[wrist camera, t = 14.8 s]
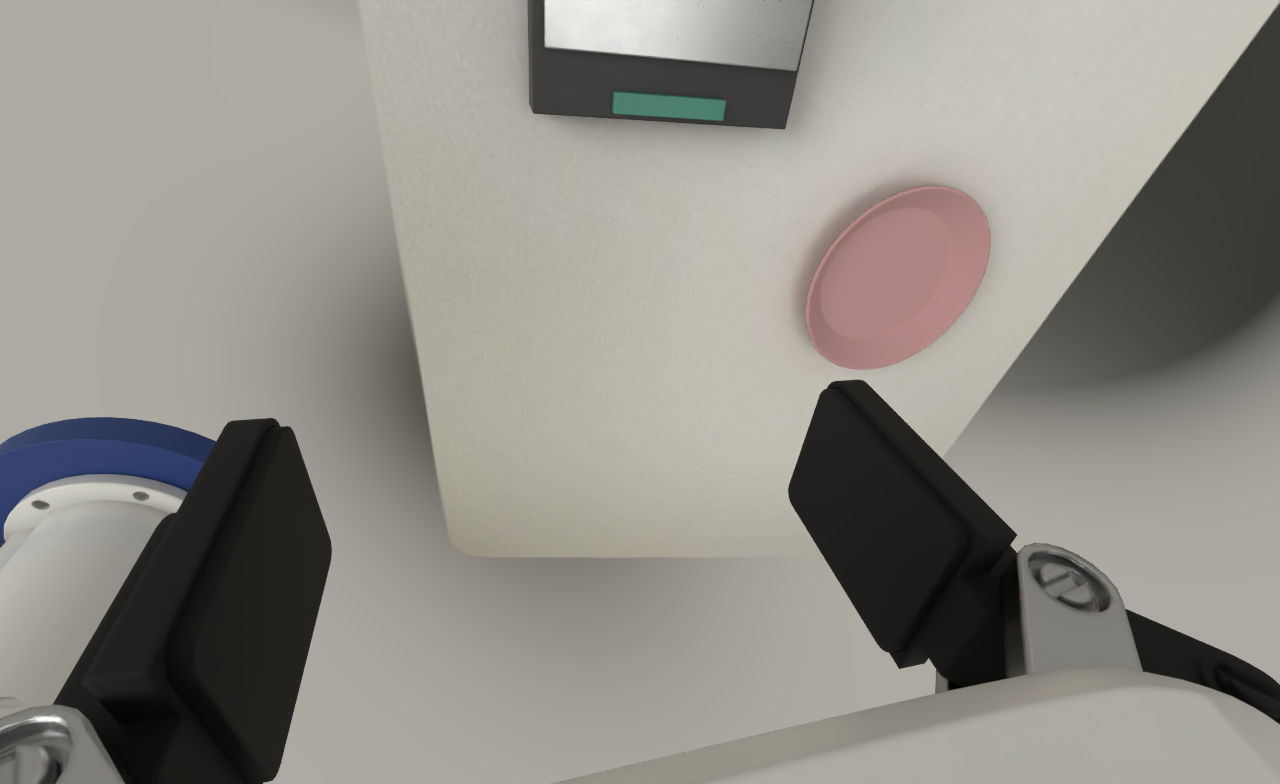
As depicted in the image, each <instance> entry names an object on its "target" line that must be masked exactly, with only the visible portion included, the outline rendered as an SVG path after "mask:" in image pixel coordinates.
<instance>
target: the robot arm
mask: <svg viewBox="0 0 1280 784" xmlns="http://www.w3.org/2000/svg"><path fill="white" fill-rule="evenodd" d="M788 494H789V499H790V502H791V504H792V506H793V508H794V509H795V511H796V512H797V514H798V516H799V517H800V519H801V521H802V522H803V524H804V525H805V527H806V529H807V530H808V532H809V534H810V535H811V537H812V538H813V540H814V542H815V543H816V545H817V547H818V548H819V550H820V552H821V553H822V555H823V556H824V558H825V560H826V561H827V563H828V564H829V566H830V568H831V569H832V571H833V573H834V574H835V576H836V578H837V579H838V581H839V582H840V584H841V586H842V587H843V589H844V591H845V592H846V594H847V595H848V597H849V599H850V600H851V602H852V604H853V605H854V607H855V608H856V610H857V612H858V613H859V615H860V617H861V618H862V620H863V621H864V623H865V625H866V626H867V628H868V629H869V631H870V633H871V634H872V636H873V638H874V639H875V641H876V643H877V644H878V645H879V646H880V648H881V649H882V650H884V651H886V652H889V653H890V655H891V656H892V658H893V659H894V661H895V663H896V664H897V666H898V668H899V669H901V668H905V667H910V666H915V665H919V664H924V663H925V662H926V661H927V660H928V658H929V659H930V660H931V662H932V663H933V665H934V666H935V668H936V688H935V694H933V695H928V696H924V697H920V698H915V699H911V700H907V701H903V702H898V703H893V704H889V705H885V706H881V707H876V708H872V709H868V710H863V711H859V712H854V713H850V714H845V715H841V716H837V717H832V718H828V719H824V720H819V721H815V722H811V723H807V724H802V725H798V726H793V727H789V728H785V729H781V730H776V731H772V732H768V733H764V734H759V735H755V736H751V737H747V738H742V739H738V740H734V741H729V742H725V743H721V744H717V745H713V746H709V747H704V748H700V749H696V750H692V751H687V752H683V753H679V754H674V755H670V756H666V757H662V758H657V759H653V760H650V761H645V762H641V763H636V764H632V765H628V766H623V767H619V768H615V769H611V770H606V771H602V772H599V773H594V774H590V775H586V776H581V777H577V778H573V779H570V780H565V781H561V782H557V783H552V784H1280V685H1279V684H1278V683H1277V682H1276V681H1275V680H1274V679H1273V678H1271V677H1270V676H1269V675H1267V674H1266V673H1264V672H1263V671H1261V670H1259V669H1258V668H1256V667H1254V666H1252V665H1251V664H1249V663H1247V662H1245V661H1243V660H1241V659H1239V658H1237V657H1235V656H1233V655H1231V654H1229V653H1227V652H1224V651H1222V650H1220V649H1217V648H1215V647H1213V646H1210V645H1208V644H1206V643H1203V642H1201V641H1199V640H1196V639H1194V638H1192V637H1190V636H1187V635H1185V634H1183V633H1180V632H1178V631H1176V630H1173V629H1171V628H1169V627H1166V626H1164V625H1162V624H1159V623H1157V622H1155V621H1152V620H1150V619H1148V618H1145V617H1143V616H1141V615H1139V614H1136V613H1134V612H1132V611H1129V610H1127V609H1125V607H1124V604H1123V600H1122V598H1121V596H1120V594H1119V592H1118V590H1117V588H1116V587H1115V586H1114V584H1113V583H1112V582H1111V581H1110V580H1109V578H1108V577H1107V576H1106V575H1105V574H1104V573H1102V572H1101V571H1100V570H1099V569H1098V568H1097V567H1095V566H1094V565H1093V564H1092V563H1090V562H1088V561H1087V560H1085V559H1084V558H1082V557H1080V556H1079V555H1077V554H1075V553H1073V552H1070V551H1068V550H1066V549H1064V548H1061V547H1057V546H1053V545H1050V544H1043V543H1033V544H1029V545H1025V546H1024V547H1023V548H1022V549H1021V550H1020V551H1019V552H1018V553H1016V551H1015V550H1014V549H1013V548H1012V547H1011V546H1010V544H1011V543H1012V541H1013V540H1014V539H1015V537H1016V536H1017V534H1016V533H1015V532H1014V531H1013V530H1012V529H1011V528H1010V527H1009V526H1008V525H1007V524H1006V523H1005V522H1004V521H1003V520H1002V519H1001V518H1000V517H999V516H998V515H997V514H996V513H995V512H994V511H993V510H992V509H991V508H990V507H989V506H988V505H987V504H986V503H985V502H984V501H983V500H982V499H981V498H980V497H979V496H978V495H977V494H976V493H975V492H974V491H973V490H972V489H971V488H970V487H969V486H968V485H967V484H966V483H965V482H964V481H963V480H962V479H961V478H960V477H959V476H958V475H957V474H956V473H955V472H954V471H953V470H952V469H951V468H950V467H949V466H948V465H947V463H946V462H944V460H942V458H941V457H940V456H939V455H938V454H937V453H936V452H935V451H934V450H933V449H932V448H931V447H930V446H929V445H928V444H927V443H926V442H925V441H924V440H923V439H922V438H921V437H920V436H919V435H918V434H917V433H916V432H915V431H914V430H913V429H912V428H911V427H910V426H909V425H908V424H907V423H906V422H905V421H904V420H903V419H902V418H901V417H900V416H899V415H898V414H897V413H896V412H895V411H894V410H893V409H892V408H891V407H890V406H889V405H888V404H887V403H886V402H885V401H884V400H883V399H882V398H881V397H880V396H879V395H878V394H877V393H876V392H875V391H874V390H873V389H872V388H871V387H870V386H869V385H868V384H867V383H866V382H864V381H863V380H846V381H835V382H832V383H831V384H830V385H829V386H828V387H827V389H825V390H823V391H822V392H821V394H820V396H819V399H818V402H817V405H816V408H815V411H814V414H813V417H812V420H811V423H810V426H809V428H808V431H807V434H806V437H805V440H804V443H803V446H802V449H801V452H800V455H799V458H798V461H797V464H796V466H795V469H794V472H793V475H792V478H791V481H790V484H789V488H788ZM4 539H5V543H4V545H3V546H2V547H0V784H263V782H269V781H272V780H273V779H274V778H275V777H276V775H277V773H278V771H279V767H280V764H281V760H282V756H283V752H284V748H285V744H286V740H287V736H288V732H289V728H290V724H291V720H292V716H293V712H294V708H295V704H296V700H297V696H298V692H299V688H300V683H301V680H302V676H303V671H304V667H305V663H306V659H307V655H308V651H309V647H310V643H311V639H312V635H313V631H314V627H315V623H316V619H317V615H318V611H319V606H320V603H321V599H322V595H323V591H324V586H325V583H326V578H327V574H328V570H329V566H330V562H331V555H332V554H331V553H332V549H331V548H332V547H331V540H330V537H329V534H328V531H327V528H326V525H325V522H324V519H323V516H322V513H321V510H320V508H319V505H318V502H317V499H316V496H315V493H314V490H313V487H312V484H311V481H310V479H309V475H308V472H307V469H306V467H305V464H304V461H303V458H302V455H301V452H300V449H299V446H298V443H297V440H296V437H295V434H294V432H293V430H292V429H291V427H288V426H287V427H280V425H279V423H278V422H277V421H276V419H273V418H268V419H251V420H238V421H231V422H228V423H227V425H226V426H225V427H224V429H223V431H222V433H221V434H220V436H219V438H218V440H217V441H216V443H215V445H214V447H213V449H212V450H211V452H210V454H209V456H208V457H207V459H206V461H205V463H204V465H203V466H202V468H201V470H200V472H199V473H198V475H197V477H196V479H195V481H194V482H193V484H192V486H191V488H190V489H189V491H188V492H187V491H185V490H182V489H180V488H178V487H176V486H173V485H169V484H166V483H163V482H160V481H157V480H152V479H147V478H142V477H137V476H129V475H118V474H87V475H80V476H73V477H67V478H63V479H60V480H56V481H53V482H49V483H47V484H45V485H43V486H41V487H38V488H36V489H34V490H32V491H31V492H30V493H29V494H28V495H26V496H25V497H24V498H23V499H21V500H20V502H19V503H18V504H17V505H16V506H15V508H14V509H13V510H12V511H11V512H10V513H9V515H8V517H7V520H6V522H5V524H4Z"/></svg>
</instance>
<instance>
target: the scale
mask: <svg viewBox="0 0 1280 784" xmlns="http://www.w3.org/2000/svg"><path fill="white" fill-rule="evenodd" d="M813 4H814V0H528V44H529V101H530V106H531V109H532V111H533V113H535V114H551V115H566V116H582V117H598V118H614V119H630V120H645V121H661V122H677V123H693V124H708V125H724V126H740V127H756V128H772V129H785V127H786V123H787V118H788V114H789V110H790V105H791V101H792V96H793V92H794V87H795V83H796V79H797V74H798V70H799V65H800V61H801V57H802V52H803V48H804V43H805V39H806V35H807V30H808V26H809V21H810V17H811V12H812V8H813Z"/></svg>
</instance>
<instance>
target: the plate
mask: <svg viewBox="0 0 1280 784" xmlns="http://www.w3.org/2000/svg"><path fill="white" fill-rule="evenodd" d="M989 252H990V231H989V226H988V222H987V219H986V217H985V215H984V213H983V211H982V209H981V208H980V206H979V205H978V204H977V203H976V202H975V200H973V199H972V198H971V197H970V196H968V195H967V194H965V193H963V192H961V191H959V190H957V189H954V188H950V187H944V186H924V187H917V188H913V189H909V190H906V191H902V192H900V193H897V194H895V195H892V196H890V197H888V198H886V199H884V200H882V201H881V202H879V203H877V204H876V205H874V206H872V207H871V208H869V209H868V210H867V211H865V212H864V213H863V214H861V215H860V216H859V217H858V218H856V219H855V220H854V221H853V222H852V223H851V224H850V225H849V226H848V227H847V228H846V229H845V230H844V231H843V232H842V233H841V234H840V235H839V236H838V238H837V239H836V240H835V241H834V243H833V244H832V245H831V247H830V248H829V249H828V251H827V252H826V254H825V255H824V257H823V259H822V260H821V262H820V264H819V266H818V268H817V270H816V272H815V274H814V277H813V279H812V282H811V285H810V288H809V292H808V296H807V302H806V324H807V329H808V333H809V336H810V339H811V341H812V343H813V345H814V346H815V348H816V349H817V350H818V352H819V353H820V354H821V355H822V356H823V357H825V358H826V359H827V360H829V361H830V362H832V363H834V364H836V365H838V366H841V367H845V368H849V369H860V370H864V369H875V368H880V367H884V366H888V365H891V364H894V363H897V362H899V361H902V360H904V359H906V358H908V357H910V356H912V355H914V354H916V353H917V352H919V351H921V350H922V349H924V348H925V347H927V346H928V345H930V344H931V343H932V342H934V341H935V340H936V339H937V338H939V337H940V336H941V335H942V334H943V333H944V332H945V331H946V330H947V329H948V328H949V327H950V326H951V325H952V324H953V323H954V322H955V321H956V320H957V319H958V318H959V316H960V315H961V314H962V313H963V311H964V310H965V309H966V307H967V306H968V304H969V303H970V301H971V300H972V298H973V296H974V295H975V293H976V291H977V289H978V287H979V285H980V283H981V281H982V278H983V276H984V273H985V270H986V267H987V263H988V258H989Z"/></svg>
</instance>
